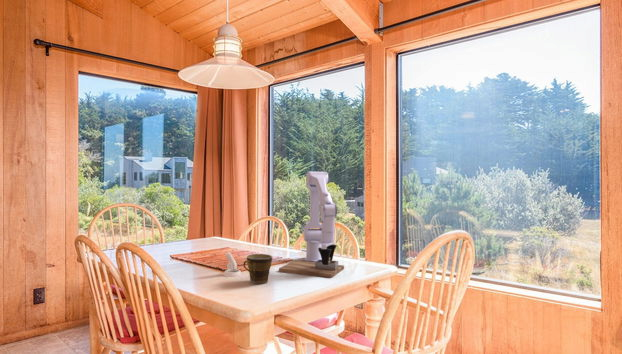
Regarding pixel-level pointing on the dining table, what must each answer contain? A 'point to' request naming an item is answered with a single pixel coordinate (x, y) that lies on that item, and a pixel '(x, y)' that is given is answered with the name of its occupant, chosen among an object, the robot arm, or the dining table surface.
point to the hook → (231, 267)
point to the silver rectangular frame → (331, 266)
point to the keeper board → (309, 269)
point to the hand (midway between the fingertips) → (327, 262)
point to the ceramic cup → (258, 267)
